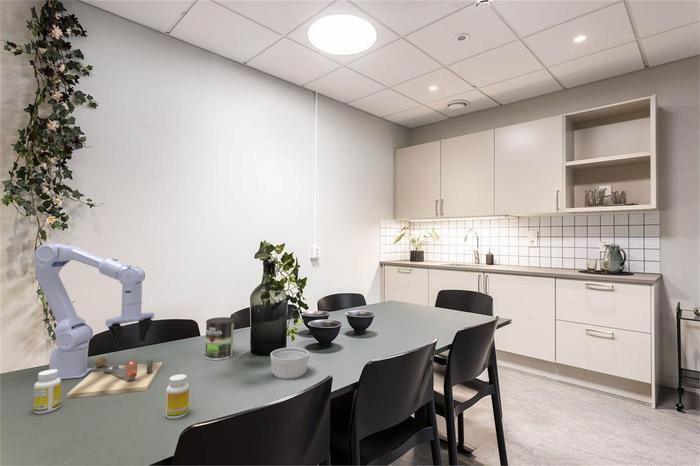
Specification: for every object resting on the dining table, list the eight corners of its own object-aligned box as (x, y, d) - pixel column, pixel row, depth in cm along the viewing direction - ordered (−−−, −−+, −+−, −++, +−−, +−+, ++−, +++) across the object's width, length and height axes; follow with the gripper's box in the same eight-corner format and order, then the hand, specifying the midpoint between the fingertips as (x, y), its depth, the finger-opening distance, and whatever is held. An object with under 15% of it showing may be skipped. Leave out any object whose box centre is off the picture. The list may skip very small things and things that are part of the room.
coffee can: (223, 361, 131) (224, 323, 131) (199, 359, 133) (200, 321, 134) (238, 353, 141) (239, 318, 141) (215, 351, 143) (216, 316, 144)
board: (66, 398, 98) (67, 379, 99) (97, 370, 119) (97, 354, 120) (146, 390, 105) (147, 372, 105) (162, 365, 125) (162, 350, 126)
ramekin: (314, 369, 125) (314, 349, 125) (299, 383, 112) (299, 361, 112) (280, 364, 128) (281, 345, 129) (262, 378, 116) (263, 357, 116)
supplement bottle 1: (57, 402, 96) (58, 366, 96) (62, 408, 93) (63, 371, 93) (31, 409, 92) (32, 372, 92) (35, 416, 88) (36, 377, 89)
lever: (101, 371, 115) (102, 354, 115) (115, 367, 118) (115, 351, 118) (126, 382, 106) (127, 364, 106) (140, 378, 110) (141, 360, 110)
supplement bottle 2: (162, 414, 91) (163, 376, 91) (183, 407, 94) (184, 371, 95) (169, 421, 87) (171, 382, 87) (191, 414, 91) (192, 377, 91)
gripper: (113, 307, 110) (112, 351, 110) (159, 301, 123) (158, 340, 122) (103, 305, 114) (101, 347, 114) (148, 299, 126) (147, 337, 126)
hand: (130, 343), depth 118 cm, fingers open, 7 cm apart
